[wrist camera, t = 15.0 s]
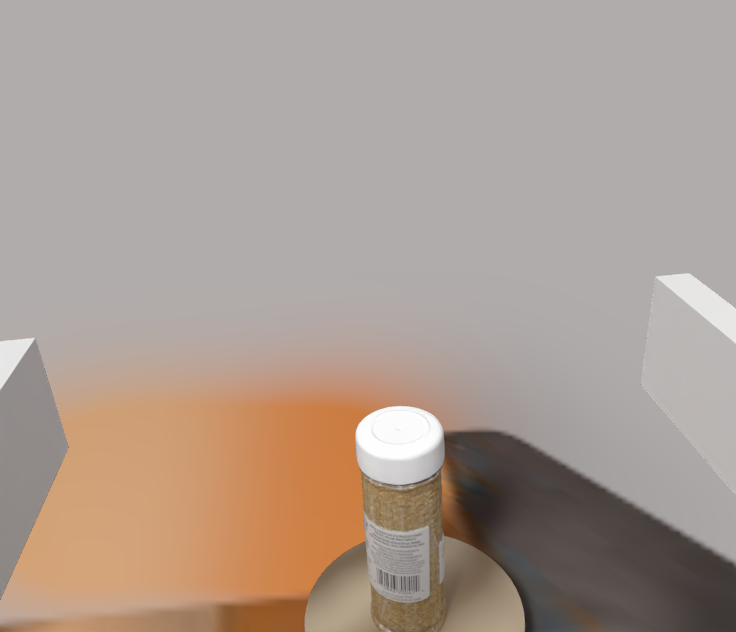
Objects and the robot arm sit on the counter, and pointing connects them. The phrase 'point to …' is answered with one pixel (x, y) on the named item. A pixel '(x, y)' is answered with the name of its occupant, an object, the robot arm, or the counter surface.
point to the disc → (461, 592)
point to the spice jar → (403, 517)
